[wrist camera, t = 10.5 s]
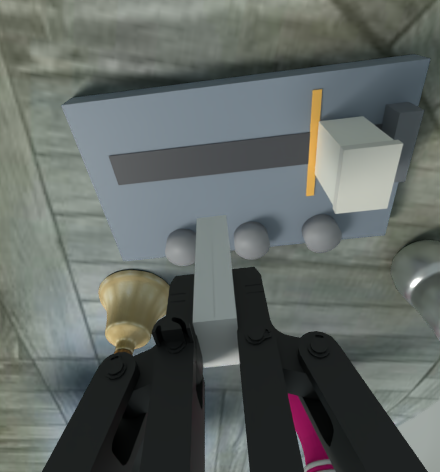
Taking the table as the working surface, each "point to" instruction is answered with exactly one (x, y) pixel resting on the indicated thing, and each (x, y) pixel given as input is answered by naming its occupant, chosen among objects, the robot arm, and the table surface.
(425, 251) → the plastic bottle
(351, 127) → the fader tab
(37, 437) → the table surface
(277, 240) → the console board
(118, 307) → the hand bell
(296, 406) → the pepper mill
